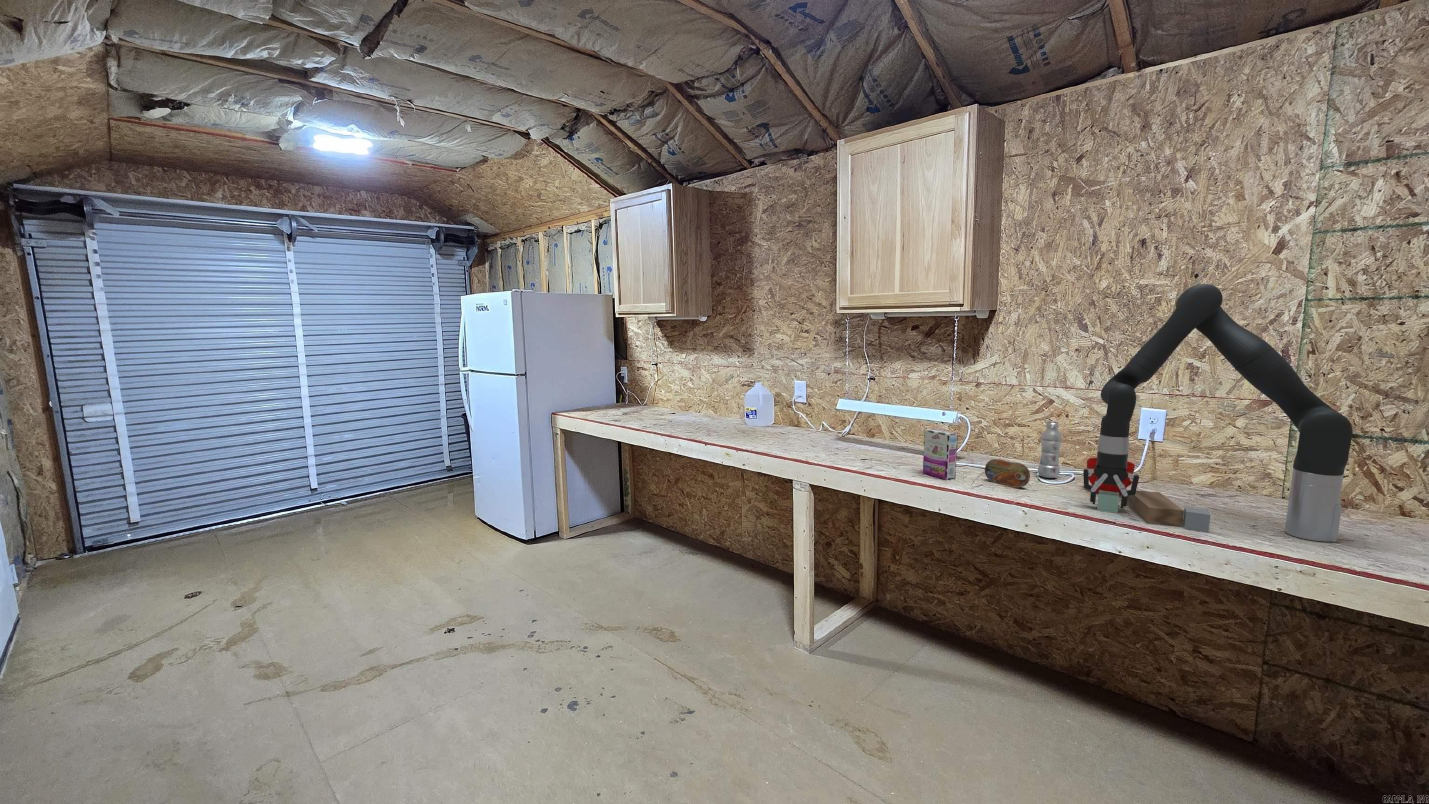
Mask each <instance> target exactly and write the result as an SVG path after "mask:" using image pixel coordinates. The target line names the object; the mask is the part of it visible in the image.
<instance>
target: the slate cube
mask: <svg viewBox="0 0 1429 804" xmlns="http://www.w3.org/2000/svg"><path fill="white" fill-rule="evenodd" d="M1183 510H1184V515H1183V524H1182V527H1183V528H1184V530H1188V531H1193V532H1200V533H1201V532H1202V533H1209V531H1210V530H1209V529H1210V523H1211V522H1210V521H1211V513H1210V510H1209V509H1204V508H1197V507H1196V508H1195V507H1192V506H1184V508H1183Z"/></svg>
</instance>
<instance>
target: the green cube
mask: <svg viewBox="0 0 1429 804" xmlns="http://www.w3.org/2000/svg"><path fill="white" fill-rule="evenodd" d="M1097 495H1098V498H1097V506H1096V507H1097V509H1096V510H1097V511H1098V512H1099V511H1100V512H1106V513H1114V514H1118V511H1119V500H1120V494H1119V493H1117V492H1109V491H1102V490H1099V492H1098V494H1097Z"/></svg>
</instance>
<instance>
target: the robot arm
mask: <svg viewBox="0 0 1429 804" xmlns="http://www.w3.org/2000/svg"><path fill="white" fill-rule="evenodd" d="M1223 301H1224V300H1223V292H1221V290H1220V289H1219V288H1218V287H1217V286H1215V285H1213V284H1208V283H1200V284H1195V285H1192V286H1190V287H1188V288H1187V289H1186V290H1185V291H1182V293H1181V294H1180V295H1179V296H1178V297H1177V299H1176V303H1175V308H1174V311H1173V312H1172V314H1171V315H1170V316H1169V318H1168V319H1167V320H1166V321H1165V323H1164V324H1163V325H1162V326H1161V327H1160V328H1159V329H1158V330H1157V331H1156V332H1155V333H1154V334H1153V336H1152V337H1151V338H1150V339H1148V340H1147V342H1145V343H1144V344H1143V345H1142V346H1141V348H1139V350H1138V351H1137V352H1136V353H1134V355H1133V357H1131V358H1130V360H1129V361H1128V362H1127V363H1126V364H1125V366H1124V367H1123V368H1121V369H1120V370H1119V371H1118V372H1116V373H1115V375H1113V376H1111V378H1110V379H1109V380H1108V381H1107V382H1105V384H1104V385H1103V386H1102V388H1101V390H1100V399H1101V400H1102V402H1104V403H1105V404H1106V405H1107V406H1106V407H1107V408H1106V413H1105V415H1103V416H1102V418H1101V420H1100V421H1101V422H1100V432H1099V438H1098V442H1097V446H1096V447H1097V449H1096V450H1097V453H1096V458H1097V462H1096V467H1095V468H1094V469H1088V468H1087V467H1084V468H1083V471H1082V472H1083V476H1082V477H1083V488H1084V489H1085V490H1088V491H1089V492H1090V495H1089V496H1090V498H1089V501H1090V503H1092V505H1096V498H1097V491H1096V490H1097V488H1098V487H1099V486H1100V485H1101V484H1102V483H1103V484H1111V485H1115V486H1116V485H1118V487H1119V489H1120V490H1121V497H1120V498H1121V499H1120V509H1124V507H1125V508H1126V507H1128V506H1127V497H1128V496H1129V495H1135V494H1136V491H1137V490H1138V485H1139V480H1140V475H1139V473H1133V474H1130V473H1128V472H1127V461H1128V458H1129V451H1130V440H1129V439H1130V438H1129V436H1130V427H1131V420H1132V418H1133V415H1134V411H1135V409H1136V408H1135V407H1136V405H1137V393H1136V391H1135V389H1136V388H1137V387H1139V386H1140V385H1141V384H1144V383H1147V382H1149V380H1151V379H1152V378H1153V376H1154V375H1156V373H1157V372H1158V371H1159V370H1160V369H1161V368H1162V366H1163V365H1164V364H1165V363H1166V362H1167V360H1168V359H1169V358H1170V357H1171V356H1172V354H1173V353H1174V352H1175V350H1176V349H1177V348H1179V346H1180V344H1182V342H1183V341H1184V340H1185V339H1186V338H1187V337H1188V336H1189V334H1191V333H1192V332H1193V331H1194V330H1195V329H1196V330H1197V331H1198V332H1200V334H1201V335H1203V336H1204V337H1205V338H1206V339H1208V340H1209V342H1210V343H1211V344H1212V345H1213V346H1214V347H1215V349H1216V350H1218V352H1219V353H1220V354H1221V355H1222V356H1223V357H1224V359H1225V360H1226V361H1227V362H1228V363H1229V364H1230V365H1231V366H1232V367H1233V369H1235V370H1236V371H1237V373H1238V374H1240V375H1241V376H1242V377H1243V378H1244V379H1245V380H1246V382H1248V383H1249V384H1250V385H1252V387H1254V388H1255V389H1256V390H1258V392H1260V393H1261V394H1262V395H1264V396H1266V398H1268V399H1270V400H1271V401H1272V402H1273V403H1275V404H1276V405H1277V407H1279V408H1280V410H1281V411H1283V413H1284V414H1285V415H1286V416H1287V418H1288V419H1289V420H1290V421H1291V423H1292V424H1293V425H1294V426H1295V428H1296V429H1297V431H1298V435H1299V437H1298V443H1297V444H1298V445H1297V450H1296V454H1295V456H1294V459H1293V465H1292V467H1293V468H1292V475H1291V480H1290V481H1291V482H1290V488H1289V489H1290V490H1289V496H1288V503H1287V510H1286V518H1285V522H1284V532H1285V533H1286V534H1288V535H1290V536H1292V537H1293V536H1294V537H1296V538H1299V539H1304V540H1307V541H1308V540H1309V541H1316V542H1327V543H1328V542H1330V543H1331V542H1333V543H1338V542H1337V541H1338V536H1339V531H1340V522H1341V515H1342V510H1343V506H1342V504H1341V494H1342V487H1343V481H1344V475H1345V469H1346V466H1347V465H1348V461H1349V456H1350V451H1351V445H1352V438H1353V425H1352V423H1351V421H1350V420H1349V418H1347V417H1346V416H1345V415H1343V414H1342V413H1340V411H1337V410H1336V409H1334V408H1333V407H1332V406H1330V405H1328V404H1327V402H1325V401H1323V399H1321V398H1320V397H1319V396H1318V395H1316V394H1315V393H1314V392H1313V391H1311V390H1310V388H1308V387H1307V385H1306V384H1305V383H1304V381H1303V379H1301V377H1300V376H1299V375H1298V373H1297V372H1296V370H1295V369H1294V368H1293V367H1292V366H1291V364H1290V363H1289V362H1288V361H1287V359H1286V358H1284V357H1283V355H1281V353H1280V352H1278V351H1277V349H1275V348H1274V347H1273V346H1272V345H1271V344H1270V343H1268V342H1267V341H1266V340H1265V339H1263V338H1261V336H1259V335H1257V334H1255V333H1253V332H1252V331H1251V330H1248V329H1246V328H1245V327H1243V326H1242V325H1240V324H1239V323H1237V322H1236V321H1235V320H1234V319H1233V318H1232V317H1231V316H1230V315H1229V314H1228V313H1227V312H1226V311H1225V310H1224V309H1223V307H1222V305H1223ZM1128 462H1129V461H1128ZM1092 473H1094V474H1095V475H1096V476H1097V478H1098V479H1097V480H1096V482H1095V483H1094V484H1093V486H1092V485H1091V484H1090V481H1089V476H1091V474H1092ZM1127 477H1129V478H1130V481H1132V484H1131V485H1130V489H1128V490H1127V488H1125V486H1124V484H1123V482H1122V481H1123V480H1125V479H1126V478H1127Z"/></svg>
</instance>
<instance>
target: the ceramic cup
mask: <svg viewBox="0 0 1429 804" xmlns="http://www.w3.org/2000/svg"><path fill="white" fill-rule="evenodd" d="M1096 462H1097V457H1091V458H1087V459H1086V468H1088V469H1094V468H1095V467H1096ZM1135 466H1136V465H1135V463H1133V462H1131V461H1127V472H1128V473H1130V474H1135V473H1134V472H1135V469H1136V468H1135ZM1097 479H1098V478H1097V476H1096V475H1095V474H1094V473H1092V474H1091V476H1089V484H1090V485H1091V486H1093V484H1094V483H1095V482H1096V480H1097ZM1122 482H1123V484H1124V486H1125V488H1126V489H1127V488H1128V487H1131V485H1132V481H1130V478H1129V477H1127V478H1126V479H1125V480H1123V481H1122ZM1099 490H1102V491H1109V492H1117V493H1119V495H1120V494H1122V492H1121V490H1120V489H1119V487H1118V485H1116V486H1115V485H1111V484H1103V483H1102V484H1101V485H1100V486H1099V487H1098V488H1097V490H1096V493H1099Z"/></svg>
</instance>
